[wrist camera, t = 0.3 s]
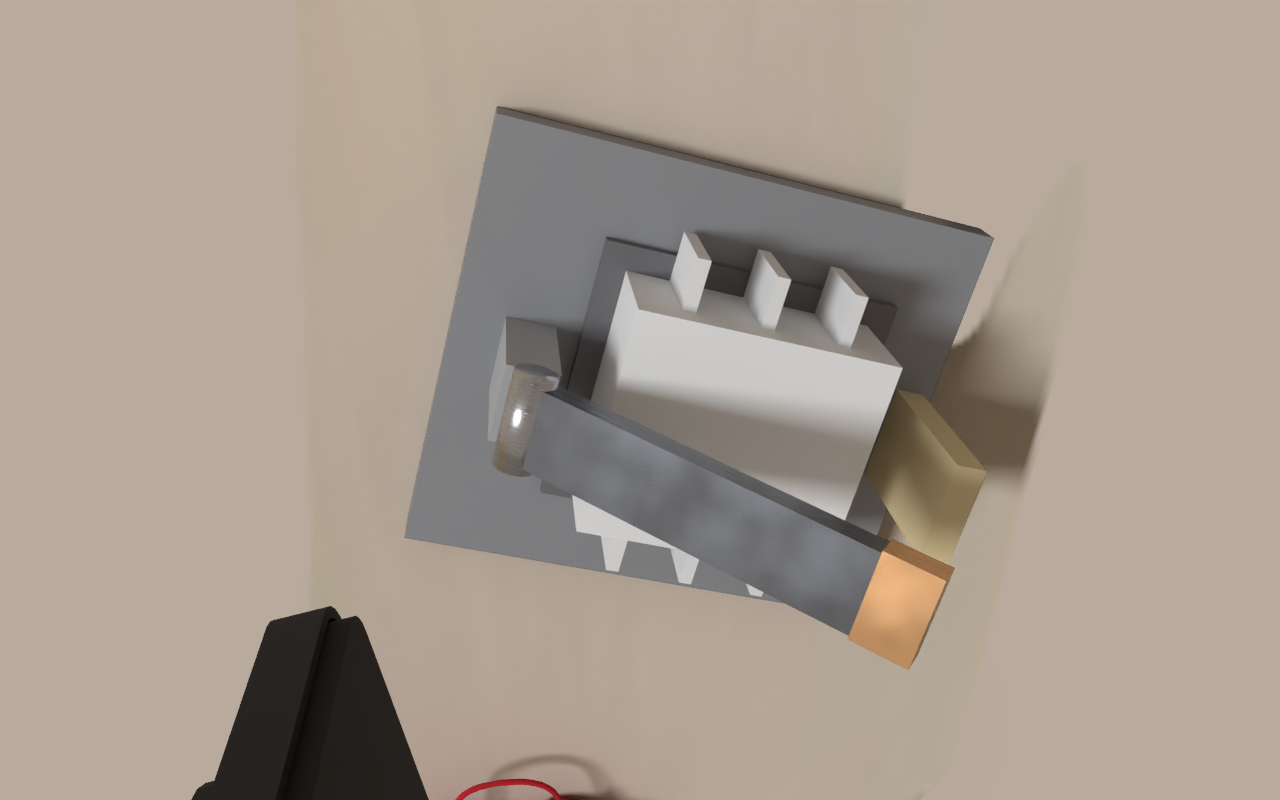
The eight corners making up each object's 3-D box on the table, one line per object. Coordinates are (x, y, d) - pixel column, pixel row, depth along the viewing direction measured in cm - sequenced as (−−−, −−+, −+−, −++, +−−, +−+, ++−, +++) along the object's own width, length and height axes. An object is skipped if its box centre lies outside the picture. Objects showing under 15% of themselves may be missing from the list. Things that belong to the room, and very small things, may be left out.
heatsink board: (496, 106, 42) (494, 152, 35) (979, 228, 46) (1074, 294, 39) (407, 519, 49) (388, 636, 41) (837, 595, 53) (893, 714, 45)
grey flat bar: (507, 450, 41) (482, 462, 40) (530, 360, 40) (504, 368, 38) (917, 657, 35) (903, 679, 34) (959, 559, 34) (946, 577, 33)
